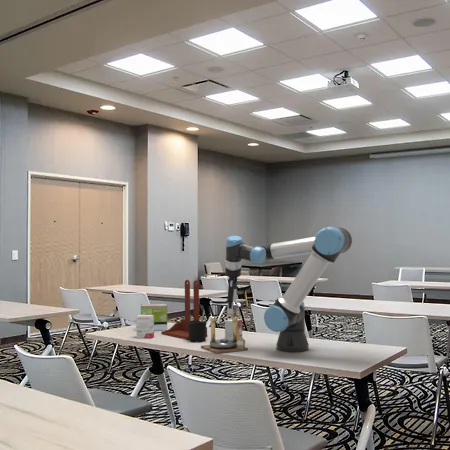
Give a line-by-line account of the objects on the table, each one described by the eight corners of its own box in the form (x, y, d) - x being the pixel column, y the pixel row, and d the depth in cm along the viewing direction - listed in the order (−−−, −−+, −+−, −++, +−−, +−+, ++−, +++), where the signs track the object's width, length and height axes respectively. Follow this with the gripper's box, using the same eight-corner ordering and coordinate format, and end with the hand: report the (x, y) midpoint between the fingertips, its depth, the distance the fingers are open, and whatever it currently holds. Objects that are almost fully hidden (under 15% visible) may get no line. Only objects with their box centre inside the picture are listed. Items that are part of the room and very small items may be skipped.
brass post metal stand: (238, 343, 262) (238, 314, 263) (237, 348, 249) (237, 318, 249) (210, 343, 263) (210, 314, 263) (209, 348, 249) (208, 318, 250)
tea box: (141, 331, 308) (141, 305, 308) (140, 329, 317) (140, 303, 318) (167, 330, 311) (167, 304, 311) (166, 327, 320) (165, 302, 321)
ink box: (154, 336, 290) (154, 314, 290) (151, 338, 285) (151, 316, 286) (139, 336, 292) (139, 314, 292) (135, 338, 287) (135, 315, 287)
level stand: (248, 350, 252) (248, 337, 252) (216, 354, 244) (216, 341, 244) (231, 344, 267) (231, 332, 267) (200, 347, 259) (200, 335, 259)
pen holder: (204, 338, 283) (204, 319, 283) (208, 342, 274) (207, 322, 274) (186, 339, 281) (186, 320, 281) (189, 343, 272) (189, 323, 272)
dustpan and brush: (161, 334, 298) (161, 280, 299) (180, 331, 307) (180, 278, 308) (187, 340, 280) (187, 282, 281) (207, 337, 289) (206, 281, 290)
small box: (233, 342, 273) (233, 321, 274) (224, 340, 277) (224, 320, 277) (242, 339, 280) (242, 319, 280) (233, 338, 283) (233, 318, 283)
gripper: (229, 257, 271) (227, 295, 278) (221, 277, 248) (220, 318, 255) (243, 258, 270) (242, 296, 277) (237, 278, 247) (236, 320, 254)
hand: (231, 307), depth 266 cm, fingers open, 13 cm apart
